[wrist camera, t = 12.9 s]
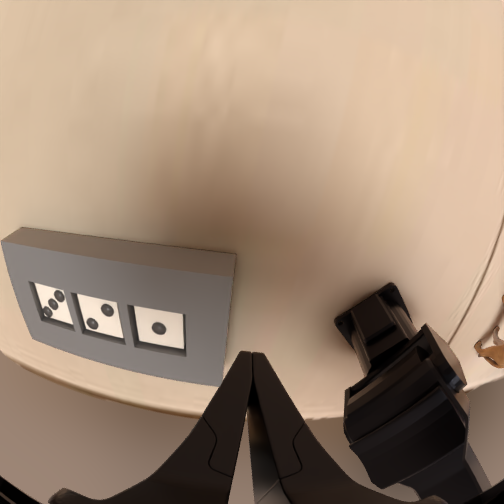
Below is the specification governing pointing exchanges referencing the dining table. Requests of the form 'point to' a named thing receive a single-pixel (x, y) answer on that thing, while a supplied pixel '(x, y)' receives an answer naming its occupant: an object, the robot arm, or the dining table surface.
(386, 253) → the dining table surface
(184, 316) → the tile one
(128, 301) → the tile board
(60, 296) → the tile three
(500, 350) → the lion figurine
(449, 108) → the dining table surface
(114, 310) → the tile two
